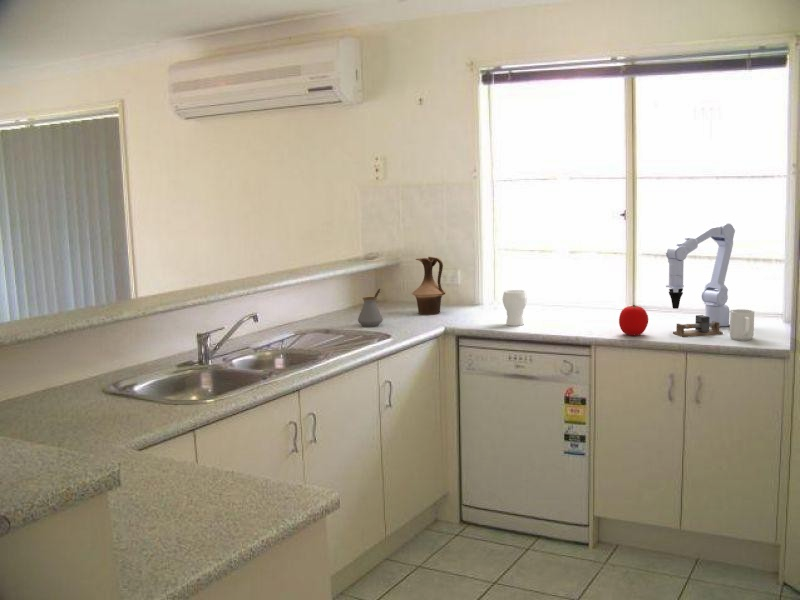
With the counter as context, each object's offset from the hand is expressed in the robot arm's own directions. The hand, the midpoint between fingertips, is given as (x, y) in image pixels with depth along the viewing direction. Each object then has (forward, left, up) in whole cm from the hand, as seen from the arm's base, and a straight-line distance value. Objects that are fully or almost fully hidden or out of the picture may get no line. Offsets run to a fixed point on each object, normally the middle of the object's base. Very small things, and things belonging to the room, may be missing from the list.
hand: (675, 307), depth 357 cm
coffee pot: (+118, -62, -10) cm, 134 cm away
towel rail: (-5, +9, -10) cm, 15 cm away
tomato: (+20, +2, -10) cm, 23 cm away
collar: (-7, +9, -9) cm, 15 cm away
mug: (-15, +25, -10) cm, 31 cm away
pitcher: (+87, -80, -10) cm, 118 cm away
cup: (+58, -37, -10) cm, 69 cm away
